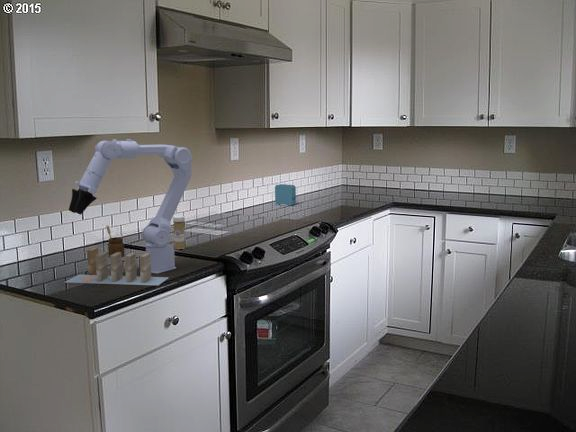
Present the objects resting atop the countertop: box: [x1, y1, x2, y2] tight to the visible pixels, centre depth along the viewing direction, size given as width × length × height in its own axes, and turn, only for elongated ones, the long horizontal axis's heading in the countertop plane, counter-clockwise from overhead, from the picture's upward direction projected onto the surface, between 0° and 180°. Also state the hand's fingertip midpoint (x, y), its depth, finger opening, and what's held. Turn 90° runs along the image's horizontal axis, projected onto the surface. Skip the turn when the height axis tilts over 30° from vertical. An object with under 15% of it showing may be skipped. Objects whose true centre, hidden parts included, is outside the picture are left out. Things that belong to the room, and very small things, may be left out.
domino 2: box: [96, 251, 109, 281], centre depth 209 cm, size 2×5×9 cm, turn 171°
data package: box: [274, 183, 297, 206], centre depth 379 cm, size 12×4×12 cm, turn 58°
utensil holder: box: [106, 225, 125, 258], centre depth 245 cm, size 6×6×12 cm
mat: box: [64, 274, 170, 286], centre depth 209 cm, size 32×10×1 cm, turn 80°
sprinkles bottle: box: [172, 215, 186, 251], centre depth 256 cm, size 5×5×13 cm
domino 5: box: [139, 252, 152, 283], centre depth 206 cm, size 2×5×9 cm, turn 170°
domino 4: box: [124, 252, 138, 282], centre depth 207 cm, size 2×5×9 cm, turn 170°
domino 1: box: [86, 246, 100, 275], centre depth 219 cm, size 2×5×9 cm, turn 170°
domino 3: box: [109, 252, 124, 282], centre depth 208 cm, size 2×5×9 cm, turn 170°
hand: (74, 212), depth 202 cm, fingers open, 7 cm apart
